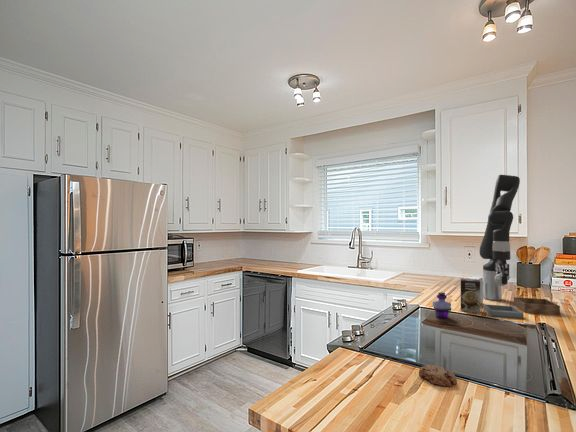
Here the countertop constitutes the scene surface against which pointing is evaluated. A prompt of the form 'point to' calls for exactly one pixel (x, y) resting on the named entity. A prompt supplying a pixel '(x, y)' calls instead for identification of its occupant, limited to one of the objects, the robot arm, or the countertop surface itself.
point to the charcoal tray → (503, 311)
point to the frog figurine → (500, 279)
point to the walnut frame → (536, 306)
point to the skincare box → (480, 286)
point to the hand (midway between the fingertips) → (502, 282)
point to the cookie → (438, 375)
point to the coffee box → (470, 295)
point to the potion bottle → (442, 306)
